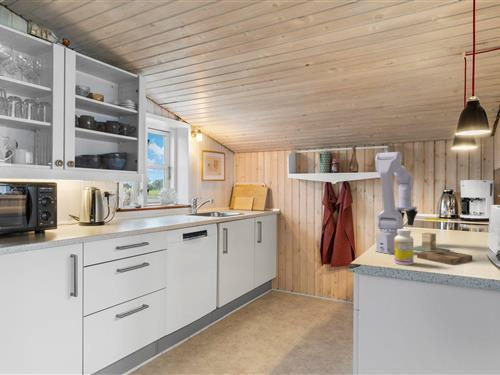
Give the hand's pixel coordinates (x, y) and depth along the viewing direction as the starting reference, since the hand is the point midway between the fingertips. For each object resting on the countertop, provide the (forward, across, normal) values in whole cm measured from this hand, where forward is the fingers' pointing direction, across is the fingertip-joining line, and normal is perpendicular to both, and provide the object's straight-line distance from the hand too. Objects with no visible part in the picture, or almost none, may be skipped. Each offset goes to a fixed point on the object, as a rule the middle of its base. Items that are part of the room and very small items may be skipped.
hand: (405, 225), depth 172 cm
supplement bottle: (+10, -34, -26) cm, 44 cm away
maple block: (+9, -2, -14) cm, 17 cm away
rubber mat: (+9, -2, -14) cm, 17 cm away
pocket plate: (+9, -14, -29) cm, 34 cm away
